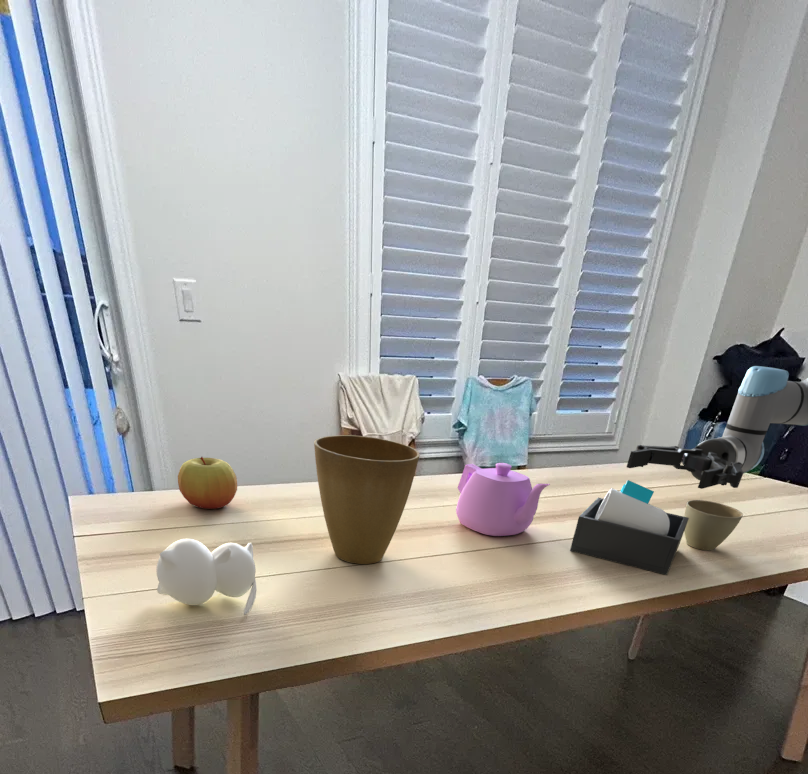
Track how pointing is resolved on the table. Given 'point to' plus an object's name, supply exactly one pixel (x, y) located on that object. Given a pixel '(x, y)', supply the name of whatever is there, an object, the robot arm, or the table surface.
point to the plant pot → (363, 492)
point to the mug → (633, 509)
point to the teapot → (496, 500)
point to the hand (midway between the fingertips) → (665, 469)
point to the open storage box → (627, 541)
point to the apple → (207, 482)
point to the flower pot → (709, 523)
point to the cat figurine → (206, 572)
